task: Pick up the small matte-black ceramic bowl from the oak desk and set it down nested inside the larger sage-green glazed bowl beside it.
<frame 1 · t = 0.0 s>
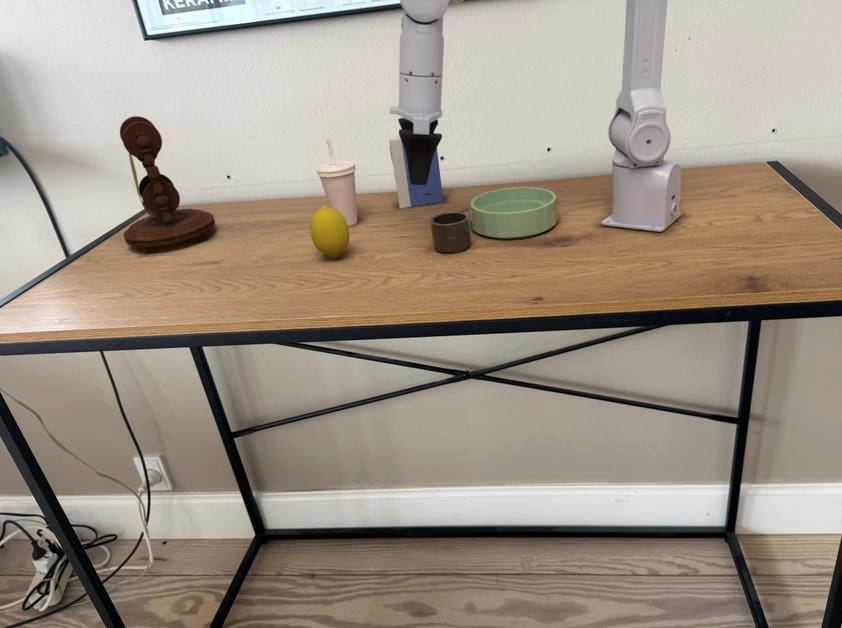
hand: (417, 177, 98), 11 cm above the table, tool pointing down, fingers open, 7 cm apart
lemon: (335, 259, 104), on the table
brown pulley stand: (174, 240, 120), on the table
sage bowl: (514, 225, 108), on the table
walkman: (421, 204, 123), on the table
smoothie: (346, 224, 118), on the table
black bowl: (452, 247, 102), on the table
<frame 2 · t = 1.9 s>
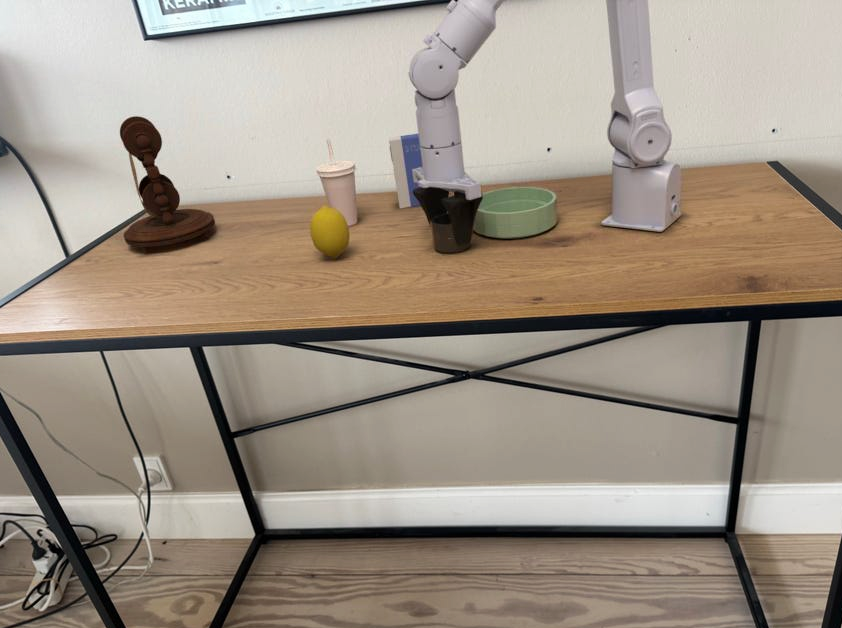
hand: (451, 238, 102), 1 cm above the table, tool pointing down, fingers closed on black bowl, 6 cm apart
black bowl: (452, 247, 102), on the table, touching gripper
everything else where it was.
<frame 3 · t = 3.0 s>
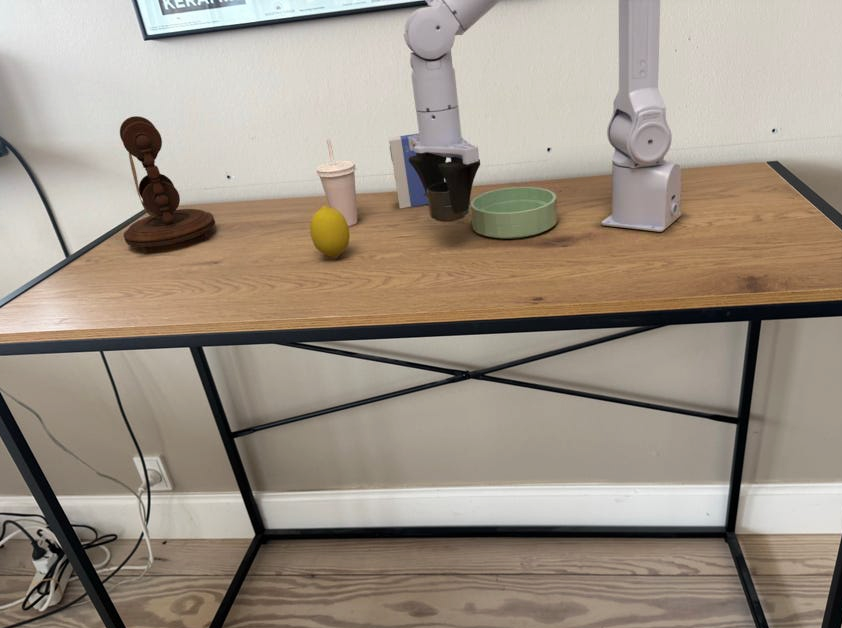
hand: (448, 206, 99), 6 cm above the table, tool pointing down, fingers closed on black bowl, 6 cm apart
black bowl: (450, 216, 100), point 5 cm above the table, touching gripper
everything else where it was.
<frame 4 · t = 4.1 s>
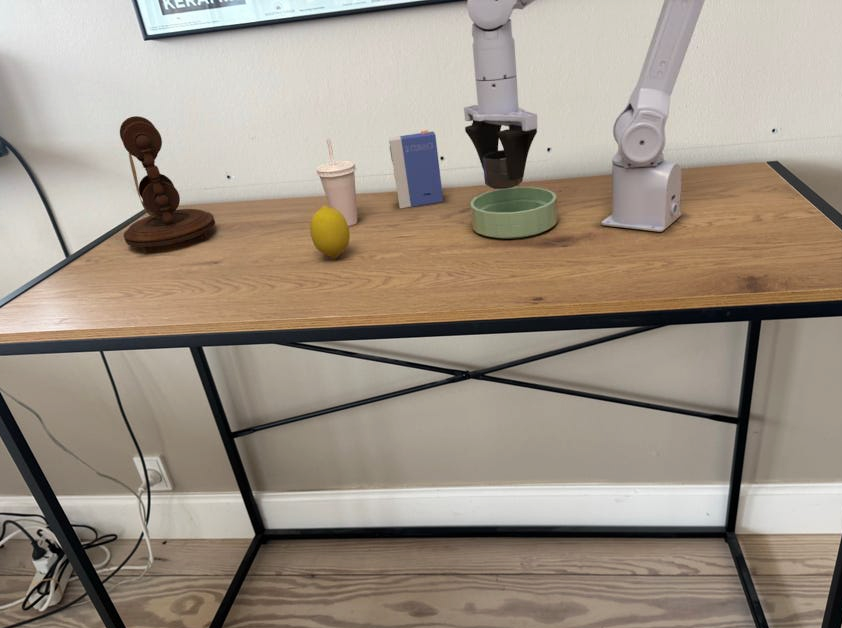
hand: (503, 175, 103), 8 cm above the table, tool pointing down, fingers closed on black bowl, 6 cm apart
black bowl: (504, 184, 104), point 7 cm above the table, touching gripper
everything else where it was.
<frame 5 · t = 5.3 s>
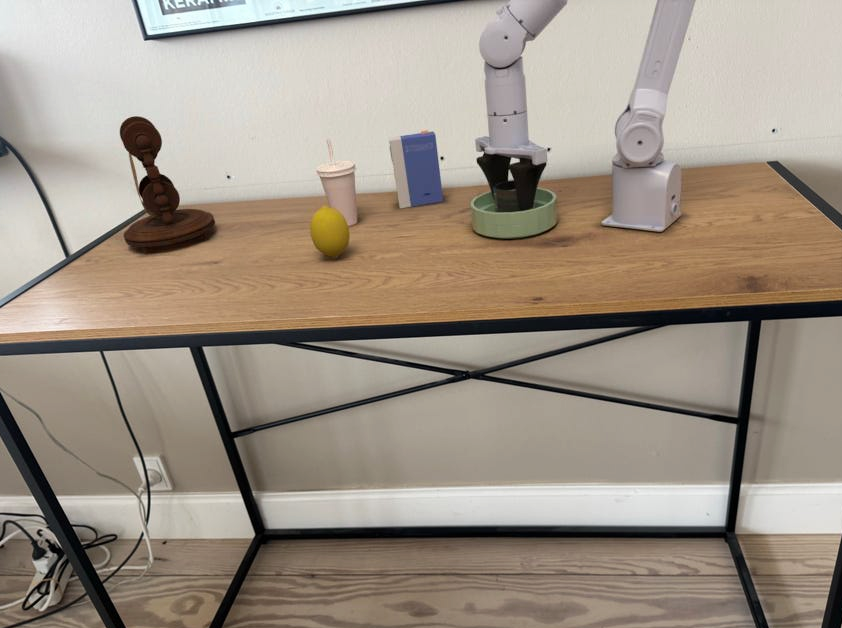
hand: (513, 204, 106), 3 cm above the table, tool pointing down, fingers closed on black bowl, 6 cm apart
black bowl: (514, 213, 107), point 2 cm above the table, touching gripper
everything else where it was.
when the fingers open (2 cm above the table, at t = 6.3 s): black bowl stays where it is, resting on sage bowl.
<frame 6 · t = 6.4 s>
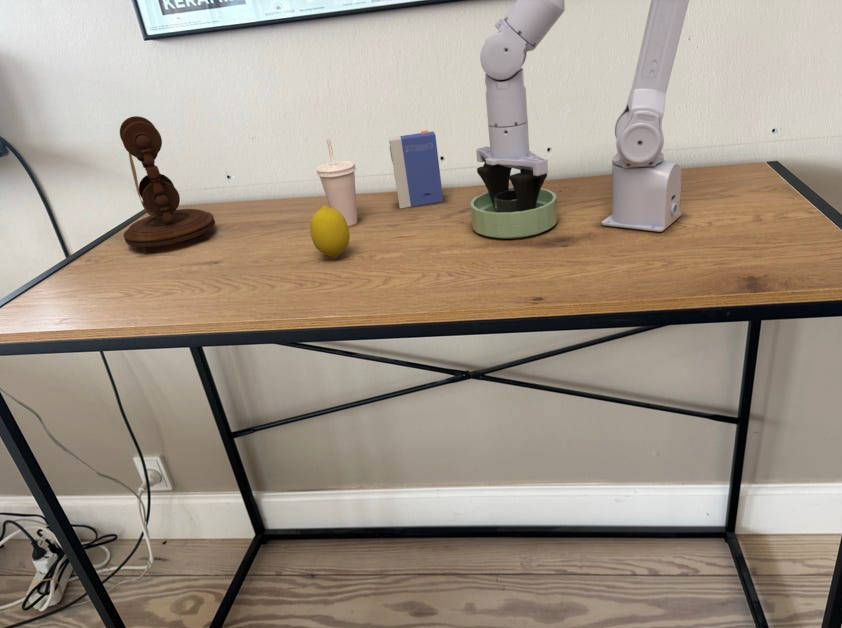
hand: (514, 214, 107), 2 cm above the table, tool pointing down, fingers open, 6 cm apart
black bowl: (514, 222, 108), point 1 cm above the table, touching sage bowl
everything else where it was.
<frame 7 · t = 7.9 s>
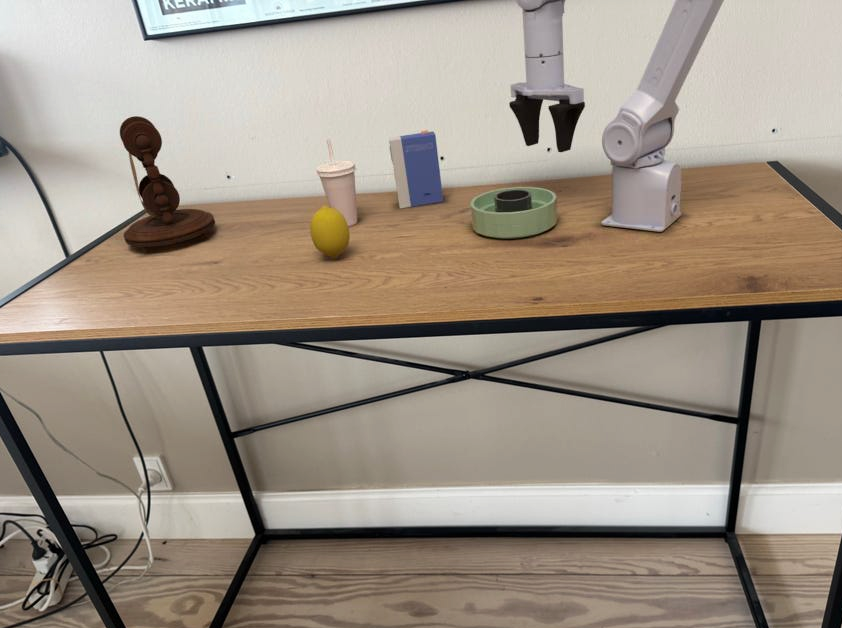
hand: (547, 147, 110), 9 cm above the table, tool pointing down, fingers open, 7 cm apart
nothing on the table moved.
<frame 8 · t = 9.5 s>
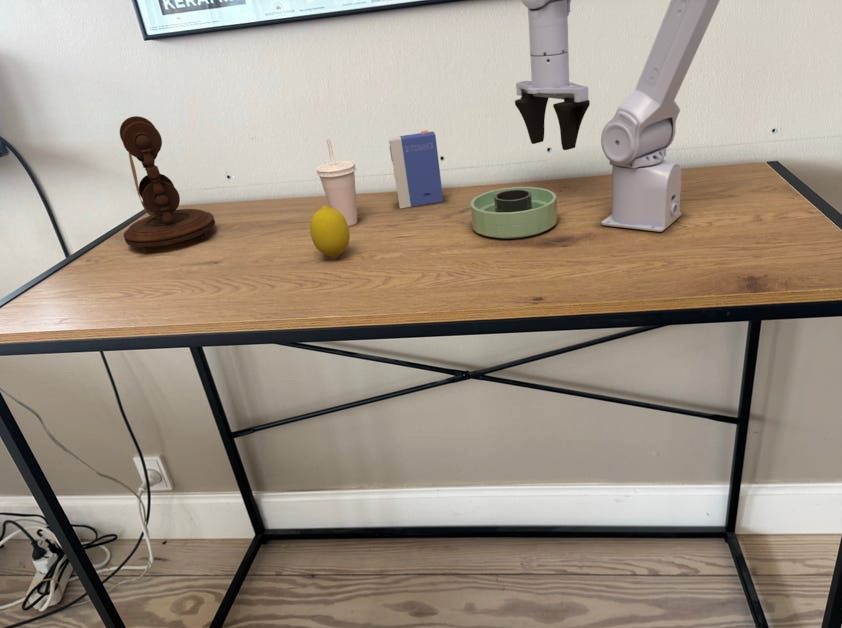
hand: (552, 145, 111), 9 cm above the table, tool pointing down, fingers open, 7 cm apart
nothing on the table moved.
at the end: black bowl 0.0 cm off-centre in the sage bowl, point 0.5 cm above the sage bowl's base; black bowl tilted 0°; the gripper is holding nothing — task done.
